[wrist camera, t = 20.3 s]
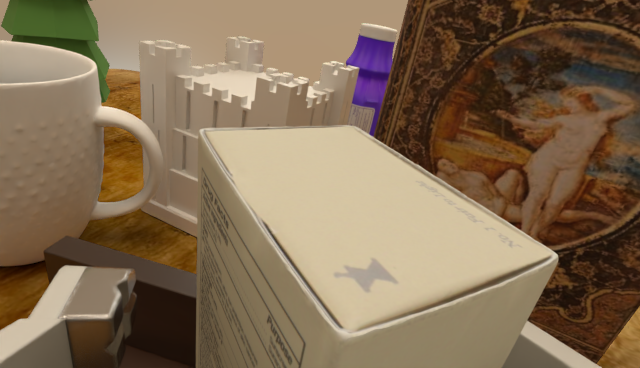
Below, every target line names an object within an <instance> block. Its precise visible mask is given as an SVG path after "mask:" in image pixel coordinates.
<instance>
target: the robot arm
mask: <svg viewBox="0 0 640 368" xmlns="http://www.w3.org/2000/svg"><path fill="white" fill-rule="evenodd" d="M135 282H136V275H135V270H134V269H133V268H116V267H96V266H88V267H87V266H69V265H65V266H63V267H62V268H61V269H59V271H58V272H57V274H56V275H55V277H54V279H53V280H52V282H51V283H50V285H49V286H48V288H47V289H46V291H45V293H44V294H43V296H42V297H41V299H40V300H39V302H38V303H37V305H36V306H35V308H34V310H33V311H32V313H31V314H30V316H29V317H28V319H19V320H17V321H15V322H14V323H12V324H10V325H9V326H7V327H5V328H4V329H2V330H0V368H120V366H121V363H122V360H123V357H124V354H125V351H126V347H125V339H126V338H127V337H128V336H129V335H130V334H131V332H132V329H133V326H134V322H135V316H136V310H137V295H136V294H135V293H134V292H133V288H134V285H135ZM502 368H601V367H600V366H598V365H597V364H595V363H593V362H592V361H590V360H589V359H587V358H586V357H584V356H582V355H581V354H579V353H578V352H576V351H574V350H573V349H571V348H570V347H568V346H567V345H565V344H563V343H562V342H560V341H559V340H557V339H555V338H554V337H552V336H551V335H549V334H548V333H546V332H544V331H543V330H541V329H540V328H538V327H536V326H535V325H533V324H532V323H530V322H529V321H527V322H526V323H525V325H524V327H523V329H522V331H521V333H520V335H519V337H518V339H517V341H516V342H515V344H514V346H513V348H512V350H511V352H510V354H509V355H508V357H507V359H506V361H505V363H504V364H503V366H502Z"/></svg>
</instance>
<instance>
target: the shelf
mask: <svg viewBox="0 0 640 368" xmlns="http://www.w3.org/2000/svg"><path fill="white" fill-rule="evenodd" d="M43 252H44V258H45V263H46V268H47V273H48V279H49V284H50V283H51V282H52V280H53V279H54V277H55V275H56V274H57V272H58V271H59V269H61V268H62V267H63V266H65V265H69V266H87V267H88V266H96V267H116V268H133V269H134V270H135V275H136V282H135V285H134V288H133V292H134V293H135V294H136V295H137V310H136V316H135V322H134V326H133V329H132V332H131V334H130V335H129V336H128V337H127V338H126V339H125V347H126V351H125V354H124V357H123V360H122V363H121V366H120V368H196V300H197V274H193V273H190V272H187V271H183V270H180V269H177V268H173V267H170V266H167V265H163V264H160V263H157V262H153V261H150V260H147V259H144V258H140V257H137V256H134V255H130V254H127V253H124V252H120V251H117V250H114V249H110V248H107V247H104V246H100V245H97V244H94V243H90V242H87V241H84V240H81V239H77V238H74V237H71V236H65V237H63V238H62V239H60V240H59V241H57V242H56V243H54V244H53V245H51V246H50V247H48V248H47V249H45V250H44V251H43Z"/></svg>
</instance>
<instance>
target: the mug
mask: <svg viewBox="0 0 640 368" xmlns="http://www.w3.org/2000/svg"><path fill="white" fill-rule="evenodd" d="M103 127H118V128H121V129H124V130H126V131H128V132H130V133H131V134H133V135H134V136H135V137H136V138H137V139H138V140H139V142H140V143H141V144H142V146H143V148H144V149H145V152H146V154H147V157H148V161H149V167H150V168H149V176H148V180H147V183H146V185H145V186H144V188H143V189H142V190H141V191H140V192H139V193H138V194H136V195H135V196H133V197H131V198H129V199H126V200H123V201H119V202H109V203H107V202H98V197H99V193H100V191H101V183H102V176H103V172H102V171H103V166H104V161H103V155H104V142H103V141H104V132H103V131H104V128H103ZM162 175H163V157H162V152H161V149H160V146H159V143H158V141H157V139H156V137H155V135H154V134H153V132H152V131H151V130H150V128H149V127H148V126H147V125H146V124H145V123H144V122H143V121H141V120H140V119H139V118H137V117H136V116H134V115H132V114H130V113H128V112H125V111H123V110H120V109H116V108H111V107H102V106H101V95H100V88H99V78H98V70H97V65H96V63H95V62H94V61H93V60H91V59H90V58H88V57H86V56H83V55H81V54H78V53H75V52H72V51H67V50H64V49H60V48H55V47H51V46H44V45H38V44H31V43H22V42H13V41H2V40H0V266H20V265H26V264H32V263H36V262H40V261H43V260H45V258H44V252H43V251H44V250H45V249H47V248H48V247H50V246H51V245H53V244H54V243H56V242H57V241H59V240H60V239H62V238H63V237H65V236H71V237H74V238H77V239H78V238H79V237H80V236H81V234H82V233H83V231H84V230H85V228H86V226H87V224H88V223H89V221H90V220H100V219H106V218H112V217H117V216H122V215H125V214H128V213H131V212H134V211H136V210H138V209H140V208H141V207H143V206H144V205H146V204H147V203H148V202H149V201H150V200H151V199H152V198H153V196H154V195H155V194H156V192H157V190H158V188H159V186H160V183H161V180H162Z"/></svg>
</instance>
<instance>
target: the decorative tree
mask: <svg viewBox="0 0 640 368" xmlns="http://www.w3.org/2000/svg"><path fill="white" fill-rule="evenodd" d="M1 26H2V27H3V28H4V29H5V30H6V31H7V32H8V33H10V34H11V35H14V36H13V38H12V41H13V42H22V43H31V44H38V45H44V46H51V47H55V48H60V49H64V50H67V51H72V52H75V53H78V54H81V55H83V56H86V57H88V58H90V59H91V60H93V61H94V62H95V63H96V65H97V70H98V78H99V88H100V95H101V103H102V102H106V100H107V98H108V95H109V93H110V90H109V88H108V85H107V83H106V81H105V78H106V75H107V72H108V69H109V63H108V62H107V60H106V59H105V57H104V55H103V54H102V52H101V51H100V49H99V47H98V46H97V44H96V43H95V41H99V39H98V25H97V20H96V18H95V16H94V15H93V12H92V10H91V8H90V6H89V4H88V2H87V0H10V2H9V5H8V8H7V10H6V13H5V16H4V19H3V22H2V25H1Z"/></svg>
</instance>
